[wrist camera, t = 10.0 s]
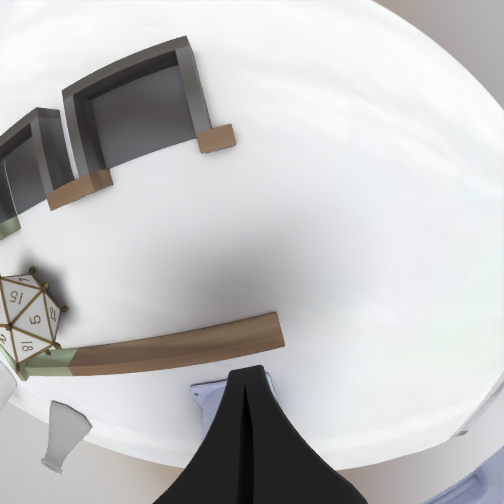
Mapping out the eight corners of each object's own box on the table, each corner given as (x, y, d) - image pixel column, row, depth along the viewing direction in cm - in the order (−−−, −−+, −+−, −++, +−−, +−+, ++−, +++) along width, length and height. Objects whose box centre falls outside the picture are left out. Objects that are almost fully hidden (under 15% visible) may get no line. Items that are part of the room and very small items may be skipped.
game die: (73, 293, 24) (66, 387, 19) (6, 276, 19) (-8, 368, 14) (73, 250, 18) (56, 380, 12) (-12, 228, 13) (-42, 350, 8)
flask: (55, 418, 27) (35, 464, 18) (46, 393, 25) (20, 445, 16) (94, 436, 28) (79, 486, 19) (89, 414, 26) (69, 471, 17)
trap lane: (279, 323, 22) (287, 354, 18) (36, 359, 22) (21, 380, 19) (210, 47, 14) (205, 23, 10) (-38, 189, 15) (-61, 198, 11)
